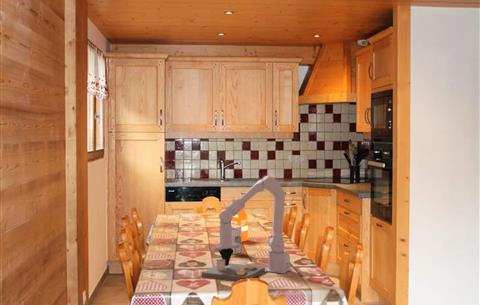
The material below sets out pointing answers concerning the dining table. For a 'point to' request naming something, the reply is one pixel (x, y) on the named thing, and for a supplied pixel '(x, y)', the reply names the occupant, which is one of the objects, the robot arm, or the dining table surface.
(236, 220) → the orange juice
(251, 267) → the white button
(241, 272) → the brass button
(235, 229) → the syrup box
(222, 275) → the control panel
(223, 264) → the pale green slider knob
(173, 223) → the dining table surface
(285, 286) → the dining table surface
